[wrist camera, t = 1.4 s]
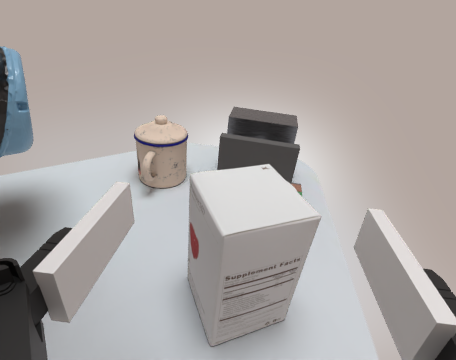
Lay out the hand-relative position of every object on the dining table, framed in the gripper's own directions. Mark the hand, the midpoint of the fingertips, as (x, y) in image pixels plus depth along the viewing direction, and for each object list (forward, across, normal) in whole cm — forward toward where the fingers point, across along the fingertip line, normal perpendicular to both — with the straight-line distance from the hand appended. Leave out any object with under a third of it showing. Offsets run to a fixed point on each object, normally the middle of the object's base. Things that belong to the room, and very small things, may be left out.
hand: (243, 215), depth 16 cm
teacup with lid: (+31, -16, -17) cm, 38 cm away
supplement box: (+9, 0, -18) cm, 20 cm away
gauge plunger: (+32, +3, -17) cm, 36 cm away
